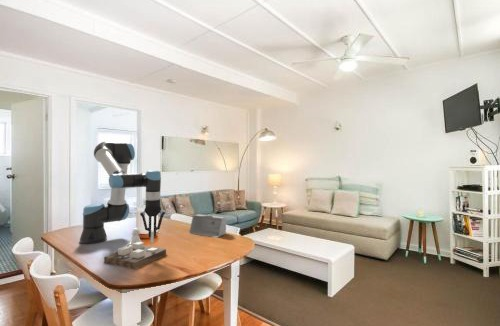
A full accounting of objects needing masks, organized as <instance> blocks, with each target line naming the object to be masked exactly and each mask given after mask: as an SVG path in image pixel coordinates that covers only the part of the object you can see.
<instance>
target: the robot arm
mask: <svg viewBox="0 0 500 326" xmlns="http://www.w3.org/2000/svg"><path fill="white" fill-rule="evenodd" d="M135 153H136V152H135V147H134V146H133V144H132V143H131V142H127V141H126V142H125V141H110V140H104V141H101V142H100V143H98V144H97V145H96V146H95V148H94V150H93V156H94V159H95V160H96V161H97V162H99V163H100V164H101V166H102V168H104V170H105V172H106V173H107V174H108V176H109V177H108V184H109V185H108V186H109V187H110V197H109V199H108V200H107V204H105V203H104V202H97V203H91V204H87V205H85V206H83V207H84V208H83V210H82V216H83V217H82V232H81V234H80V237H79V243H80V244H85V245H87V244H88V245H90V244H97V243H102V242H106V241H107V239H108V236H107V232H106V229H105V225H104V224H105V223H113V222H120V221H124V220H126V219H127V218H128V217H129V215H130V214H129V213H130V206H129V203H127V200H126V199H125V196H126V189H128V188H145V199H146V200H145V207H144V210H143V211H141V212H140V213H139V214H140V217H142V221H143V226H144V227H143V228H144V230H145V231H147V232H148V238H150V244H155V238H154V237H157V231H159V230H160V228H161V225H162V221H163V218H164V216H165V214H166V212H165V210H162V208H161V183H162V177H161V176H162V174H161V171H160V170H147V171H146V173H145V172H139V173H128V168H129V167H128V166H129V165H130V164H131V161H133V160H134V159H135V158H136V154H135ZM159 214H160V216H159V219H158V223H157V216H158V215H159ZM146 216H148V224H147V220H146ZM152 217H153V229H152Z"/></svg>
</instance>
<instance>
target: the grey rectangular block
mask: <svg viewBox="0 0 500 326" xmlns="http://www.w3.org/2000/svg"><path fill="white" fill-rule="evenodd" d="M226 232H227V219H226V217H225V216H217V215H208V214H200V213H198V214H195V215H193V216H192V219H191V223H190V227H189V234H192V235H198V236H205V237H206V236H207V237H212V238H220V237H222V236H224V235H225V234H226Z"/></svg>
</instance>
